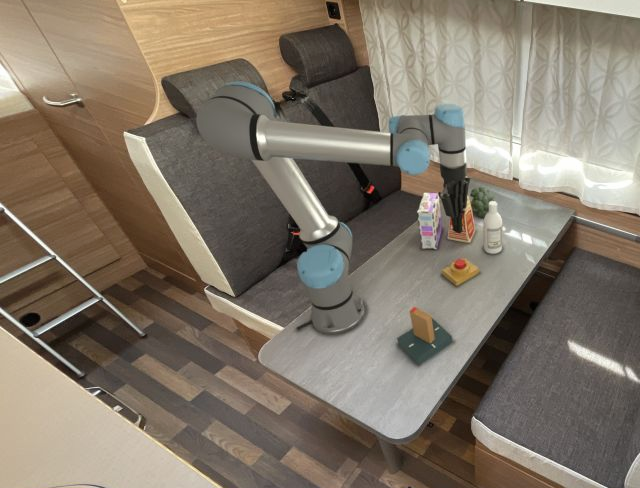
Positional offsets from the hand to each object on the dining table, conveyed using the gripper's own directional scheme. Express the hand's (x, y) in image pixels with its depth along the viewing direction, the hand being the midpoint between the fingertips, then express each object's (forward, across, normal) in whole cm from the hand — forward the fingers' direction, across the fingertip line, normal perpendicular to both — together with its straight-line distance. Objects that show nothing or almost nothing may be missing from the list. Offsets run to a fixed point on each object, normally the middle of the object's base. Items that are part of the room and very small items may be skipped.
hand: (457, 231), depth 129 cm
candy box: (+19, -11, -21) cm, 30 cm away
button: (+15, 0, 0) cm, 15 cm away
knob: (+15, +31, +9) cm, 35 cm away
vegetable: (+19, -36, -16) cm, 43 cm away
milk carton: (+19, -19, -14) cm, 30 cm away
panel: (+18, +30, +9) cm, 37 cm away
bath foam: (+19, -18, +2) cm, 26 cm away
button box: (+18, 0, 0) cm, 18 cm away
